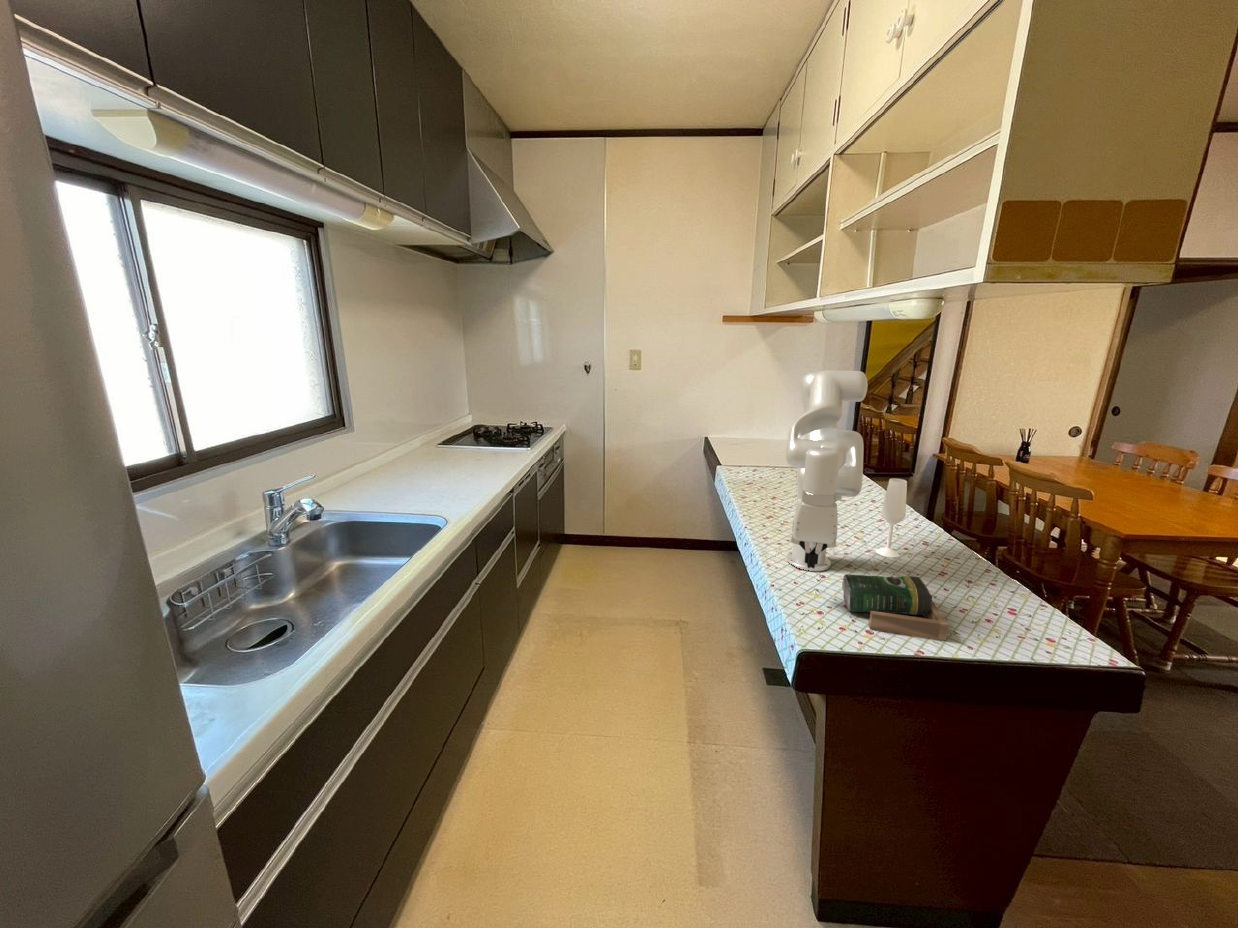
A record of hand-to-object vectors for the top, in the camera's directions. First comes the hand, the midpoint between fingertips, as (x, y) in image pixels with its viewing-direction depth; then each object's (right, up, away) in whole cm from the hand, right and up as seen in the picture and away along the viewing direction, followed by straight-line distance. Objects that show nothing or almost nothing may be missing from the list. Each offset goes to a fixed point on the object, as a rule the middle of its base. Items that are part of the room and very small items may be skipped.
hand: (810, 565), depth 125 cm
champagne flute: (+37, -3, +32) cm, 49 cm away
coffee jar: (+8, -7, -1) cm, 10 cm away
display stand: (+19, -11, -4) cm, 22 cm away
